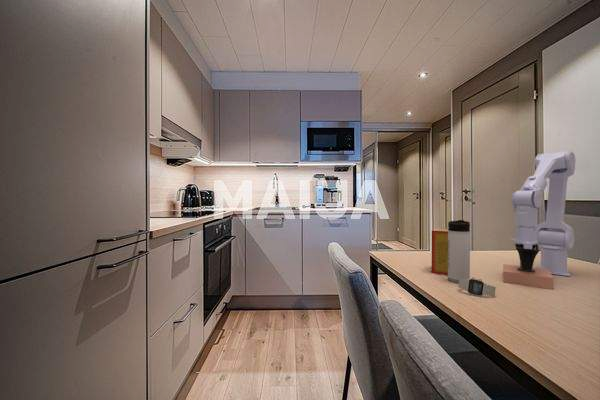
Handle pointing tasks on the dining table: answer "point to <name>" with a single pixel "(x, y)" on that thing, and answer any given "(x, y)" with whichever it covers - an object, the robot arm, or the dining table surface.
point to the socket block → (528, 276)
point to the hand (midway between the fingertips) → (526, 267)
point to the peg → (522, 269)
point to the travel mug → (458, 250)
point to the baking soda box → (440, 251)
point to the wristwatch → (476, 287)
